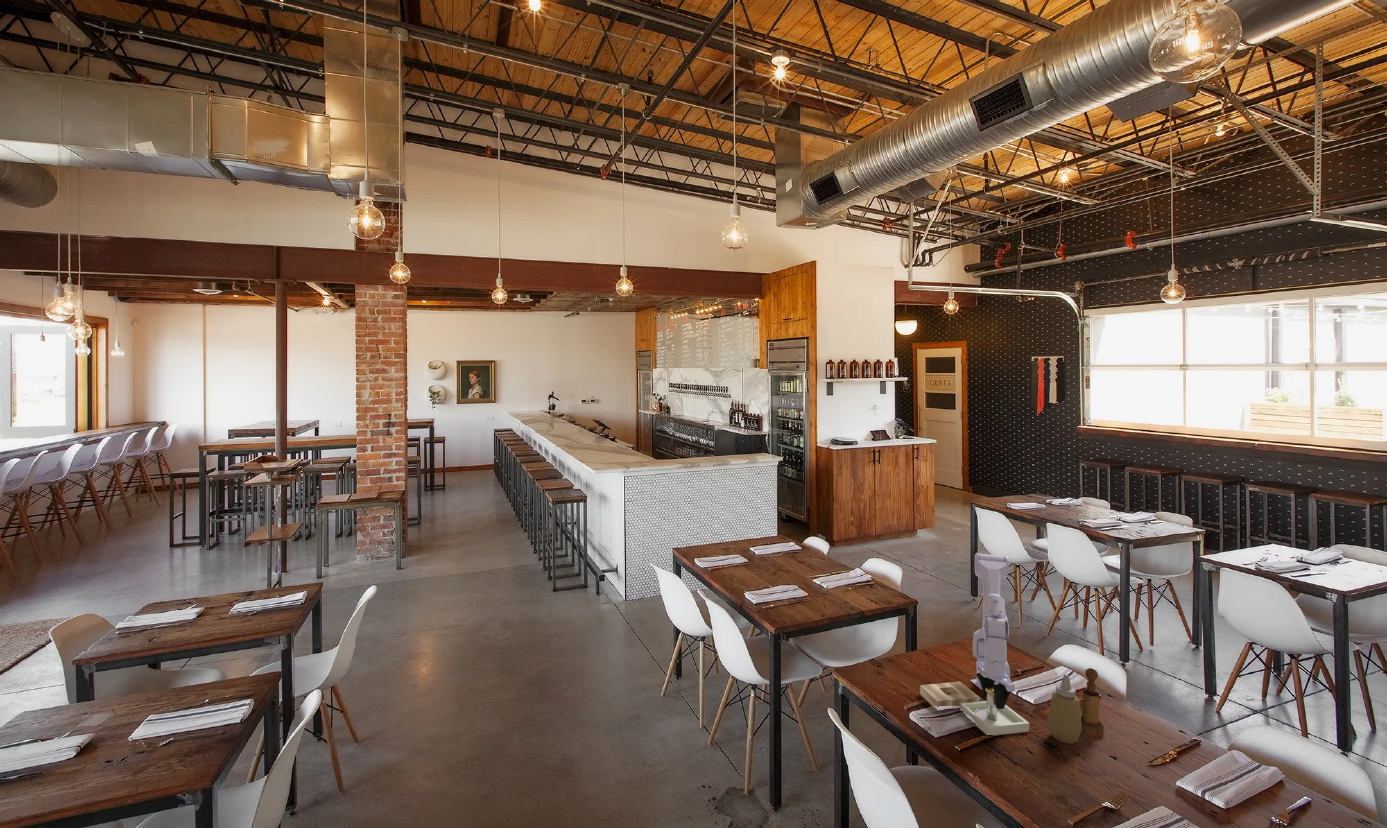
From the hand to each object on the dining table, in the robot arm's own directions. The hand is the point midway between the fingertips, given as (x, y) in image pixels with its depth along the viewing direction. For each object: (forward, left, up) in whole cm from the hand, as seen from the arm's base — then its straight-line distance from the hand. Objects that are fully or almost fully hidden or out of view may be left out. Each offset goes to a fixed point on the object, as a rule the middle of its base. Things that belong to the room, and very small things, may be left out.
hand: (994, 703), depth 177 cm
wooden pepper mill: (-24, +9, -6) cm, 26 cm away
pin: (0, -1, -5) cm, 5 cm away
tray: (0, 0, -5) cm, 5 cm away
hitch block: (+6, -13, -5) cm, 15 cm away
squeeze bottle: (-14, +11, -6) cm, 19 cm away
